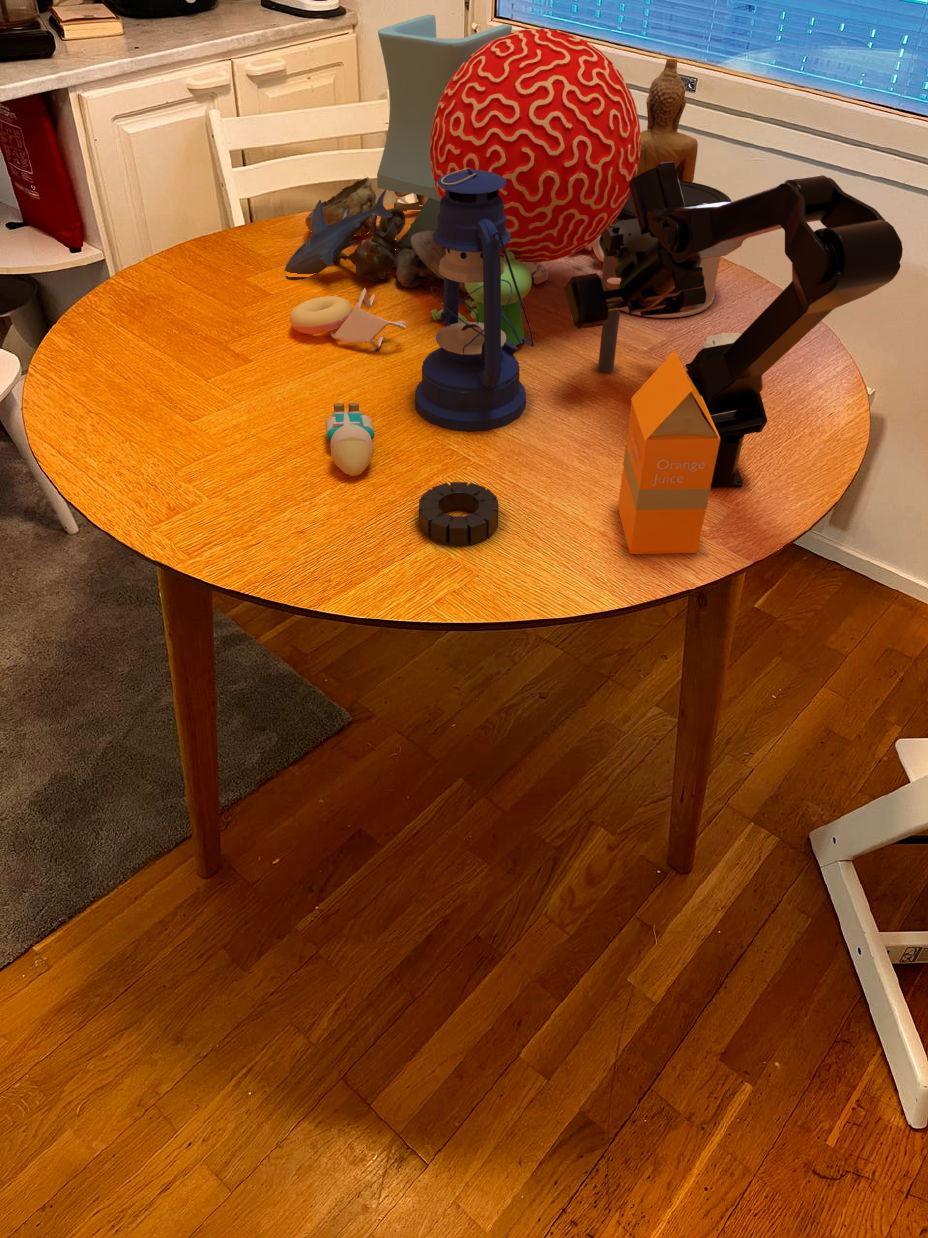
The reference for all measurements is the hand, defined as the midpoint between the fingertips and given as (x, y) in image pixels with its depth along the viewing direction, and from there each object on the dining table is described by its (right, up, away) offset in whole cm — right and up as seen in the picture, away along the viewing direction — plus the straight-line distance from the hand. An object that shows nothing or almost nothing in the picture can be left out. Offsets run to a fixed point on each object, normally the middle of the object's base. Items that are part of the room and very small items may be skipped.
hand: (611, 317), depth 133 cm
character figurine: (+6, +22, +30) cm, 37 cm away
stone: (+20, -1, +10) cm, 23 cm away
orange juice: (+1, -32, -23) cm, 39 cm away
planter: (-24, +20, +34) cm, 46 cm away
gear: (-21, -31, -22) cm, 43 cm away
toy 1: (-42, +24, +26) cm, 55 cm away
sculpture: (+13, +26, +41) cm, 51 cm away
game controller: (-6, +16, +30) cm, 35 cm away
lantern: (-20, -12, -2) cm, 23 cm away
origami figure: (-34, +3, +12) cm, 36 cm away
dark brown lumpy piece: (-32, +26, +25) cm, 49 cm away
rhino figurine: (-26, +19, +28) cm, 43 cm away
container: (+11, +11, +24) cm, 29 cm away
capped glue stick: (0, -6, +5) cm, 8 cm away
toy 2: (-36, -14, -6) cm, 39 cm away
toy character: (-17, +1, +14) cm, 22 cm away
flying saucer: (-24, +15, +24) cm, 37 cm away
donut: (-47, +4, +15) cm, 49 cm away
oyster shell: (-34, +26, +35) cm, 55 cm away
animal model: (-31, +33, +43) cm, 62 cm away
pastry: (-43, +34, +39) cm, 67 cm away
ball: (-12, +22, +20) cm, 32 cm away
